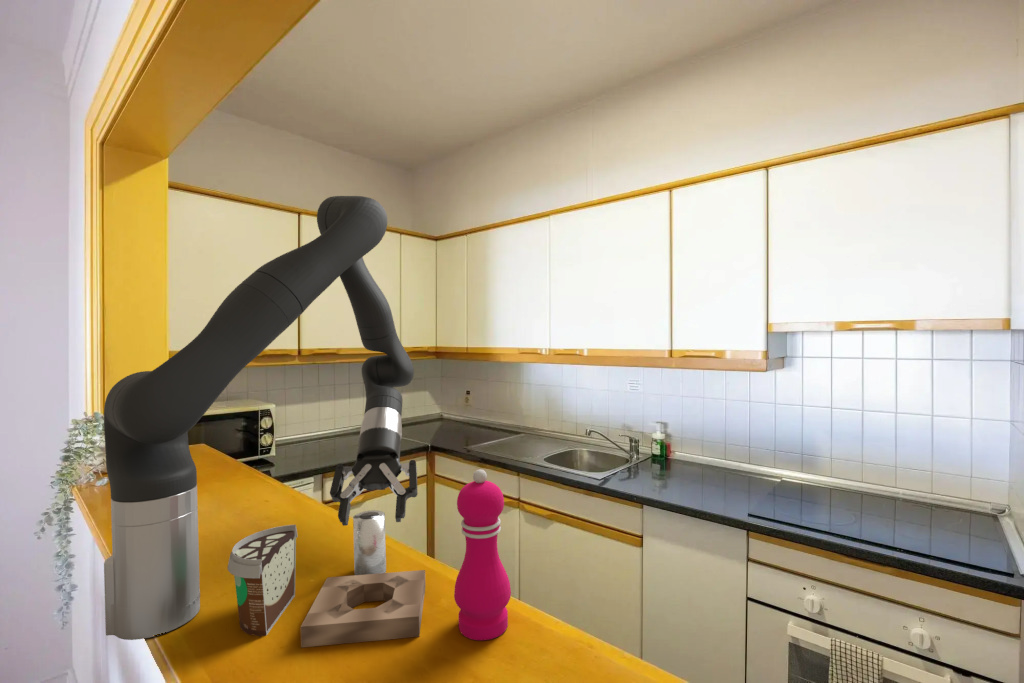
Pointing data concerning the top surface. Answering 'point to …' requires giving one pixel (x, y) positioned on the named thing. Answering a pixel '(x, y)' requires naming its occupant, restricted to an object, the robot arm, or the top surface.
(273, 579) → the food container
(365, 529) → the bushing
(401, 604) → the frame
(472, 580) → the pepper mill
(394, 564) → the top surface
